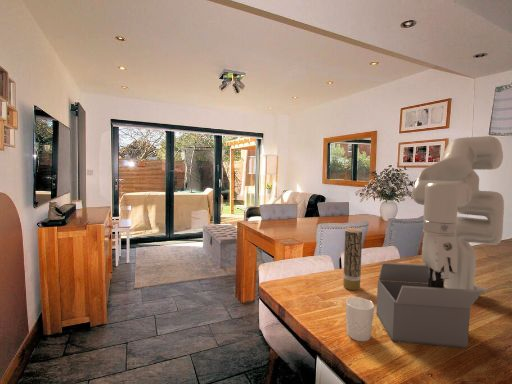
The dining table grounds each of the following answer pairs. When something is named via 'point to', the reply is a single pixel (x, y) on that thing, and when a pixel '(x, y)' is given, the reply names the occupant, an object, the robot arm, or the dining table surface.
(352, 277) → the paper tube
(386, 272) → the flap
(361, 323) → the white cup
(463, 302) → the flap
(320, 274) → the dining table surface
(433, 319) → the carton
